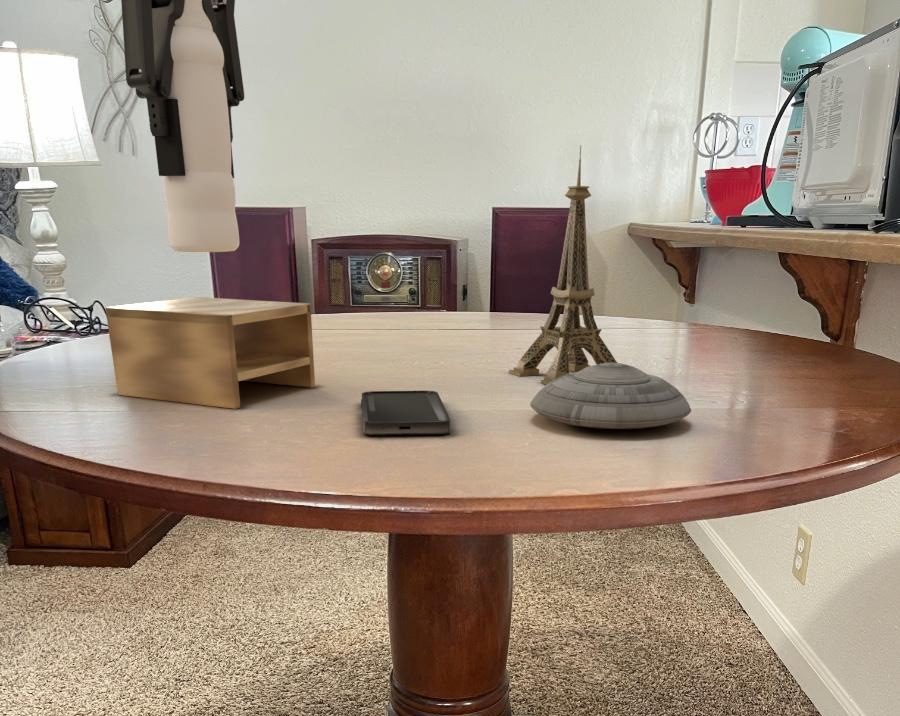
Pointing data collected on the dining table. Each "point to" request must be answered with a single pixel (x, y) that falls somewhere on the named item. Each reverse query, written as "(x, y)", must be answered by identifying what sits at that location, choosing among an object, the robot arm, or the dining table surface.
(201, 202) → the water bottle
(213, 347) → the rack
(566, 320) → the eiffel tower
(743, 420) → the dining table surface
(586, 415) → the flying saucer
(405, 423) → the phone
